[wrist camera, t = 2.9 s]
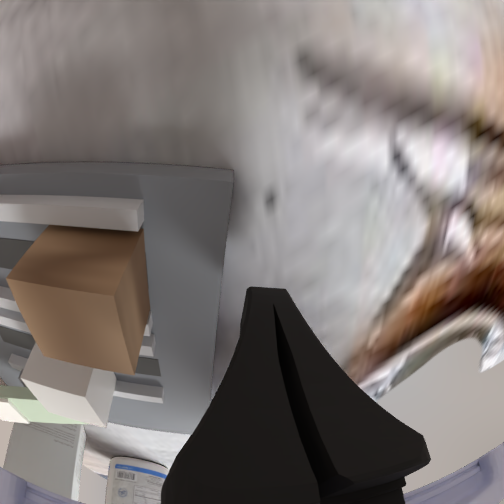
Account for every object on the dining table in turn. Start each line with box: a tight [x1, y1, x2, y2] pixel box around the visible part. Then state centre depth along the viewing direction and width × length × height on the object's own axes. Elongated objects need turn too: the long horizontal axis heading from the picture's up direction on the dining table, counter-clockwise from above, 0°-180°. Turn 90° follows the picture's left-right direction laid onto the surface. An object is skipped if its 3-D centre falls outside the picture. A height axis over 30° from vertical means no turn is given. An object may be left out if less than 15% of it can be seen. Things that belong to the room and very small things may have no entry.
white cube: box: [20, 342, 117, 428], centre depth 13 cm, size 4×4×4 cm
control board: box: [0, 162, 234, 435], centre depth 14 cm, size 20×22×3 cm
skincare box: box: [3, 421, 86, 501], centre depth 18 cm, size 8×6×15 cm
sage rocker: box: [0, 385, 88, 424], centre depth 14 cm, size 9×4×1 cm, turn 81°
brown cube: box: [6, 225, 150, 375], centre depth 9 cm, size 4×4×4 cm
